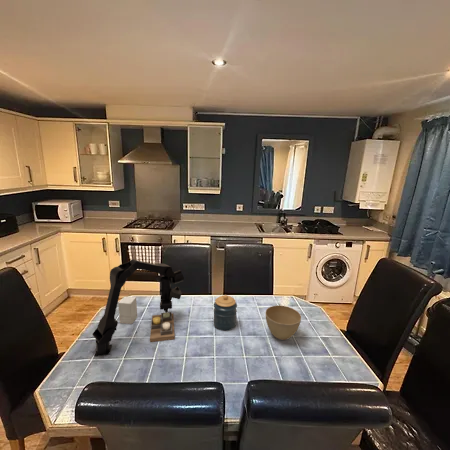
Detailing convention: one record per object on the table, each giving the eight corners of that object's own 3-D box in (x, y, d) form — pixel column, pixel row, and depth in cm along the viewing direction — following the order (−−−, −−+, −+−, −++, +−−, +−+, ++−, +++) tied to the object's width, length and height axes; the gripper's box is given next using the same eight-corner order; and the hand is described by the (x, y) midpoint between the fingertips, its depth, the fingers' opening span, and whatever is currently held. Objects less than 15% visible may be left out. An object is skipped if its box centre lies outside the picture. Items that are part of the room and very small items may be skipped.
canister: (227, 334, 133) (227, 303, 129) (208, 325, 140) (208, 295, 136) (240, 322, 143) (241, 294, 139) (222, 314, 150) (223, 287, 147)
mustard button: (160, 324, 134) (160, 320, 133) (153, 325, 133) (152, 321, 132) (160, 320, 137) (160, 316, 137) (153, 321, 136) (153, 317, 136)
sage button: (169, 319, 141) (169, 315, 140) (163, 320, 140) (162, 316, 139) (169, 315, 144) (169, 312, 144) (163, 316, 143) (162, 312, 143)
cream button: (170, 330, 129) (170, 326, 128) (162, 331, 128) (162, 326, 128) (170, 325, 133) (169, 321, 132) (162, 326, 132) (162, 322, 131)
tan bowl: (300, 349, 123) (302, 326, 120) (263, 343, 126) (264, 321, 123) (297, 327, 140) (299, 307, 137) (265, 322, 143) (266, 303, 141)
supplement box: (137, 316, 146) (136, 297, 144) (132, 324, 139) (130, 303, 137) (125, 315, 147) (124, 296, 144) (119, 323, 140) (117, 302, 137)
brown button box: (174, 339, 128) (174, 332, 127) (150, 342, 125) (149, 335, 124) (173, 316, 148) (173, 310, 147) (152, 318, 145) (152, 312, 144)
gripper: (181, 293, 131) (181, 320, 134) (179, 278, 149) (180, 302, 152) (159, 295, 128) (160, 322, 132) (160, 279, 146) (161, 304, 150)
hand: (166, 312), depth 141 cm, fingers closed
